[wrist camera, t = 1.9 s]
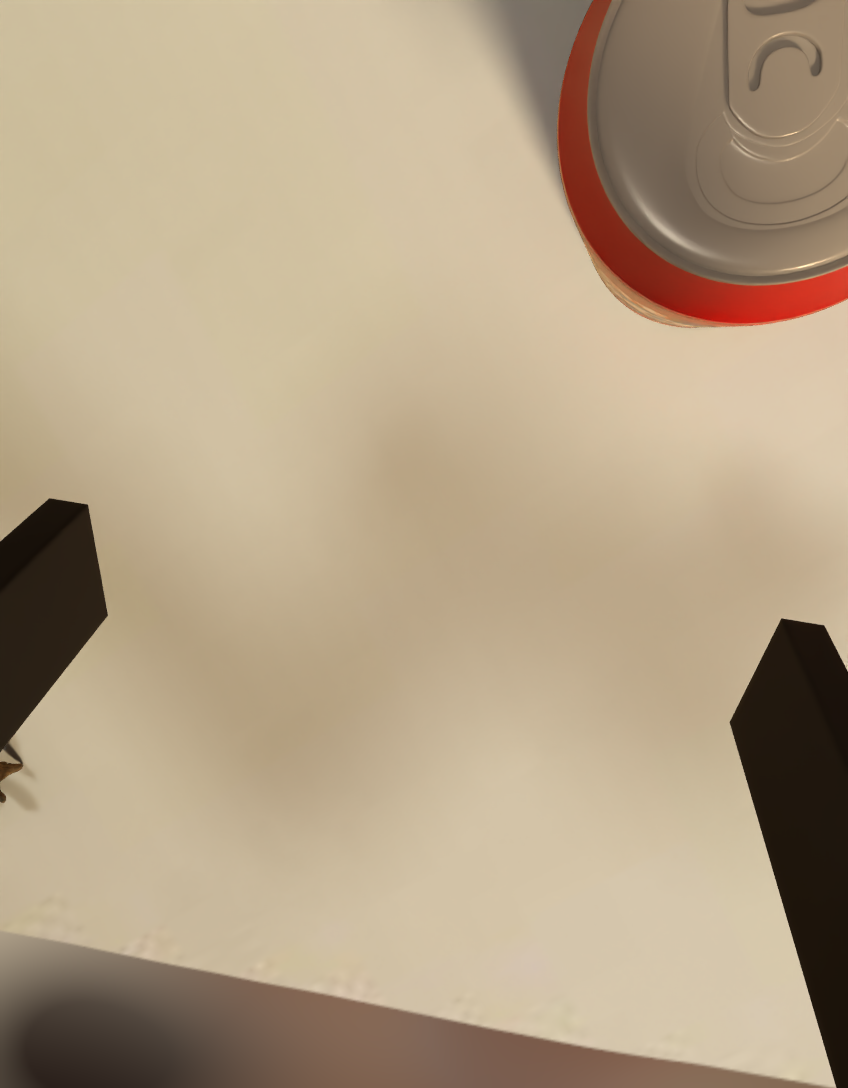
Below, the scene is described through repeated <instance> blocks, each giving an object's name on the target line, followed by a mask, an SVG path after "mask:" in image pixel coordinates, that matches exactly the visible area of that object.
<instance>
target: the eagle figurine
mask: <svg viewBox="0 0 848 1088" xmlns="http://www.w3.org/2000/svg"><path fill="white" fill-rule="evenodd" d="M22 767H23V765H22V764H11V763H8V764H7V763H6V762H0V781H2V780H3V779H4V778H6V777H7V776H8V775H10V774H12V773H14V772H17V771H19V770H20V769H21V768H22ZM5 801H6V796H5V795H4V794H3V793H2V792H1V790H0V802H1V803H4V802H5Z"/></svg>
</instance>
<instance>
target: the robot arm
mask: <svg viewBox="0 0 848 1088" xmlns="http://www.w3.org/2000/svg"><path fill="white" fill-rule="evenodd" d="M107 616H108V614H107V608H106V602H105V597H104V591H103V586H102V580H101V575H100V569H99V564H98V558H97V553H96V547H95V542H94V536H93V531H92V525H91V519H90V514H89V508H88V505H87V504H81V503H74V502H68V501H62V500H56V499H50V498H49V499H48V500H47V501H46V502H45V503H44V504H42V505H41V506H40V507H39V508H38V509H37V510H36V511H35V512H33V513H32V514H31V515H30V516H29V517H28V518H27V519H25V520H24V521H23V522H22V523H21V524H20V525H19V526H17V527H16V528H15V529H14V530H13V531H12V532H11V533H9V534H8V535H7V536H6V537H5V538H4V539H3V540H2V541H0V752H1V750H2V749H3V748H4V747H5V745H6V744H7V743H8V742H9V740H10V739H11V738H12V737H13V735H14V734H15V733H16V731H17V730H18V729H19V728H20V726H21V725H22V724H23V723H24V721H25V720H26V719H27V717H28V716H29V715H30V714H31V712H32V711H33V710H34V709H35V707H36V706H37V705H38V703H39V702H40V701H41V700H42V698H43V697H44V696H45V695H46V693H47V692H48V691H49V689H50V688H51V687H52V686H53V684H54V683H55V682H56V681H57V679H58V678H59V677H60V676H61V674H62V673H63V672H64V670H65V669H66V668H67V667H68V665H69V664H70V663H71V662H72V660H73V659H74V658H75V656H76V655H77V654H78V653H79V651H80V650H81V649H82V648H83V646H84V645H85V644H86V642H87V641H88V640H89V639H90V637H91V636H92V635H93V634H94V632H95V631H96V630H97V628H98V627H99V626H100V625H101V623H102V622H103V621H104V620H105V618H106V617H107ZM730 725H731V728H732V732H733V735H734V739H735V742H736V745H737V749H738V752H739V756H740V759H741V763H742V766H743V769H744V773H745V776H746V780H747V783H748V786H749V790H750V793H751V797H752V800H753V804H754V807H755V810H756V814H757V817H758V821H759V824H760V828H761V831H762V834H763V838H764V841H765V845H766V848H767V852H768V855H769V858H770V862H771V865H772V869H773V872H774V875H775V879H776V882H777V886H778V889H779V893H780V896H781V899H782V903H783V906H784V910H785V913H786V917H787V920H788V923H789V927H790V930H791V934H792V937H793V941H794V944H795V947H796V951H797V954H798V958H799V961H800V964H801V968H802V971H803V975H804V978H805V982H806V985H807V988H808V992H809V995H810V999H811V1002H812V1006H813V1009H814V1012H815V1016H816V1019H817V1023H818V1026H819V1029H820V1033H821V1036H822V1040H823V1043H824V1047H825V1050H826V1053H827V1057H828V1060H829V1064H830V1067H831V1071H832V1074H833V1077H834V1081H835V1084H836V1088H848V671H847V669H846V667H845V665H844V663H843V661H842V659H841V658H840V656H839V654H838V652H837V650H836V648H835V646H834V644H833V642H832V640H831V638H830V636H829V634H828V632H827V630H826V628H825V626H824V625H818V624H812V623H806V622H800V621H793V620H787V619H781V620H780V623H779V625H778V627H777V629H776V631H775V633H774V635H773V637H772V639H771V641H770V643H769V645H768V647H767V649H766V651H765V653H764V655H763V657H762V659H761V661H760V663H759V665H758V667H757V669H756V671H755V673H754V675H753V677H752V679H751V681H750V683H749V685H748V687H747V689H746V691H745V693H744V695H743V697H742V699H741V701H740V703H739V705H738V707H737V709H736V711H735V713H734V715H733V717H732V719H731V721H730Z"/></svg>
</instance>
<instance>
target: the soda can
mask: <svg viewBox="0 0 848 1088" xmlns="http://www.w3.org/2000/svg"><path fill="white" fill-rule="evenodd" d="M557 150H558V161H559V169H560V174H561V180H562V184H563V189H564V192H565V196H566V200H567V203H568V206H569V209H570V212H571V215H572V217H573V220H574V222H575V224H576V227H577V229H578V231H579V233H580V236H581V238H582V240H583V242H584V244H585V247H586V249H587V251H588V253H589V256H590V258H591V260H592V262H593V265H594V267H595V269H596V271H597V273H598V275H599V276H600V278H601V280H602V281H603V283H604V284H605V285H606V287H607V288H608V289H609V290H610V292H611V293H612V294H613V295H614V296H615V297H616V298H617V299H618V300H619V301H620V302H621V303H623V304H624V305H625V306H626V307H628V308H629V309H631V310H632V311H634V312H635V313H637V314H639V315H641V316H643V317H645V318H647V319H649V320H652V321H655V322H658V323H661V324H665V325H670V326H676V327H688V328H697V327H730V326H753V325H763V324H770V323H776V322H781V321H787V320H791V319H795V318H799V317H803V316H806V315H810V314H813V313H816V312H819V311H821V310H824V309H827V308H829V307H832V306H834V305H836V304H839V303H841V302H843V301H845V300H847V299H848V0H593V2H592V3H591V5H590V7H589V9H588V11H587V13H586V15H585V17H584V20H583V22H582V24H581V26H580V29H579V31H578V34H577V36H576V39H575V42H574V44H573V47H572V50H571V53H570V56H569V60H568V63H567V66H566V70H565V74H564V78H563V83H562V88H561V93H560V100H559V107H558V119H557Z"/></svg>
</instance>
